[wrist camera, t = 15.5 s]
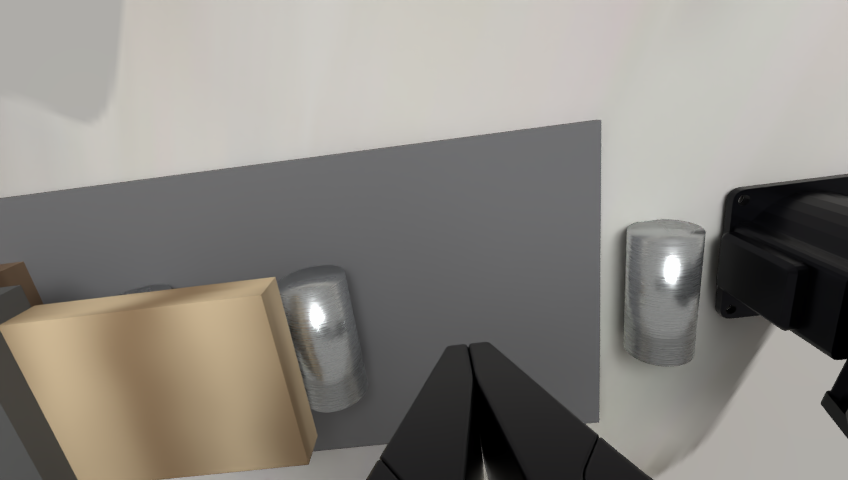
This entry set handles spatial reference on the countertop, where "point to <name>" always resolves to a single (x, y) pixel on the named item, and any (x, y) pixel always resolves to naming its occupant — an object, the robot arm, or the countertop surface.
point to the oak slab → (168, 381)
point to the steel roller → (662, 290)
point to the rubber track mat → (365, 253)
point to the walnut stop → (23, 397)
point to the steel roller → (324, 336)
